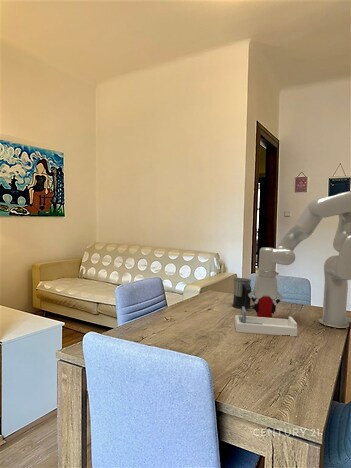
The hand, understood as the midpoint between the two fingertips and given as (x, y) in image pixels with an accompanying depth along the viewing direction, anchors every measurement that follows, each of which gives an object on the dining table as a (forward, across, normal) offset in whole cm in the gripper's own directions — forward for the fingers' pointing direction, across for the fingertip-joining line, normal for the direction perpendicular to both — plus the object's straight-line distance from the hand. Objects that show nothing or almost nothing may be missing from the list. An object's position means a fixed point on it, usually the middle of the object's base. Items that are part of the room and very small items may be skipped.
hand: (264, 312), depth 150 cm
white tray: (+4, +2, +14) cm, 14 cm away
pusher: (+3, +7, +13) cm, 15 cm away
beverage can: (+4, 0, 0) cm, 4 cm away
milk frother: (+4, +5, -21) cm, 22 cm away
